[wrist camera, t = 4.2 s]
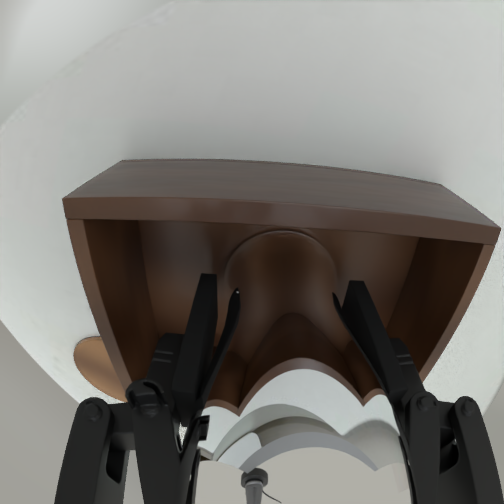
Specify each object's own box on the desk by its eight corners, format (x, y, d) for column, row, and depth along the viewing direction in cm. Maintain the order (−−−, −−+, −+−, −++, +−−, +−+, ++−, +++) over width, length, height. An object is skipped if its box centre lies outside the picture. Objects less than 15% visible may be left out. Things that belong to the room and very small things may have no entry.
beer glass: (346, 215, 14) (487, 566, 1) (339, 320, 18) (389, 571, 5) (204, 227, 15) (106, 597, 2) (226, 330, 18) (201, 584, 5)
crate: (121, 160, 13) (61, 198, 9) (441, 184, 13) (501, 228, 9) (151, 342, 20) (130, 405, 15) (381, 350, 20) (401, 410, 15)
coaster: (60, 328, 20) (58, 331, 19) (162, 345, 20) (161, 349, 19) (94, 391, 24) (92, 394, 24) (179, 408, 24) (178, 411, 24)
